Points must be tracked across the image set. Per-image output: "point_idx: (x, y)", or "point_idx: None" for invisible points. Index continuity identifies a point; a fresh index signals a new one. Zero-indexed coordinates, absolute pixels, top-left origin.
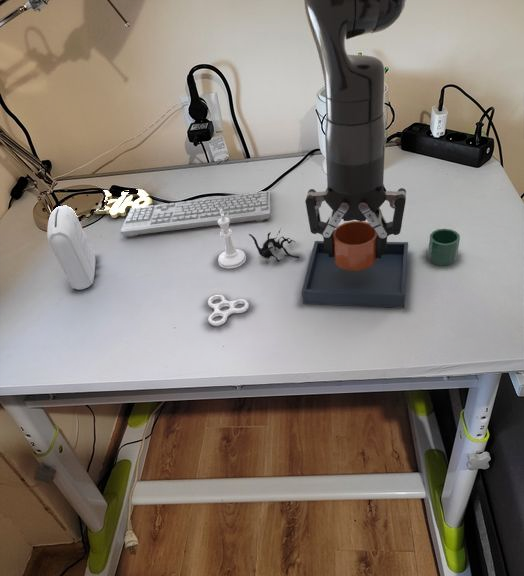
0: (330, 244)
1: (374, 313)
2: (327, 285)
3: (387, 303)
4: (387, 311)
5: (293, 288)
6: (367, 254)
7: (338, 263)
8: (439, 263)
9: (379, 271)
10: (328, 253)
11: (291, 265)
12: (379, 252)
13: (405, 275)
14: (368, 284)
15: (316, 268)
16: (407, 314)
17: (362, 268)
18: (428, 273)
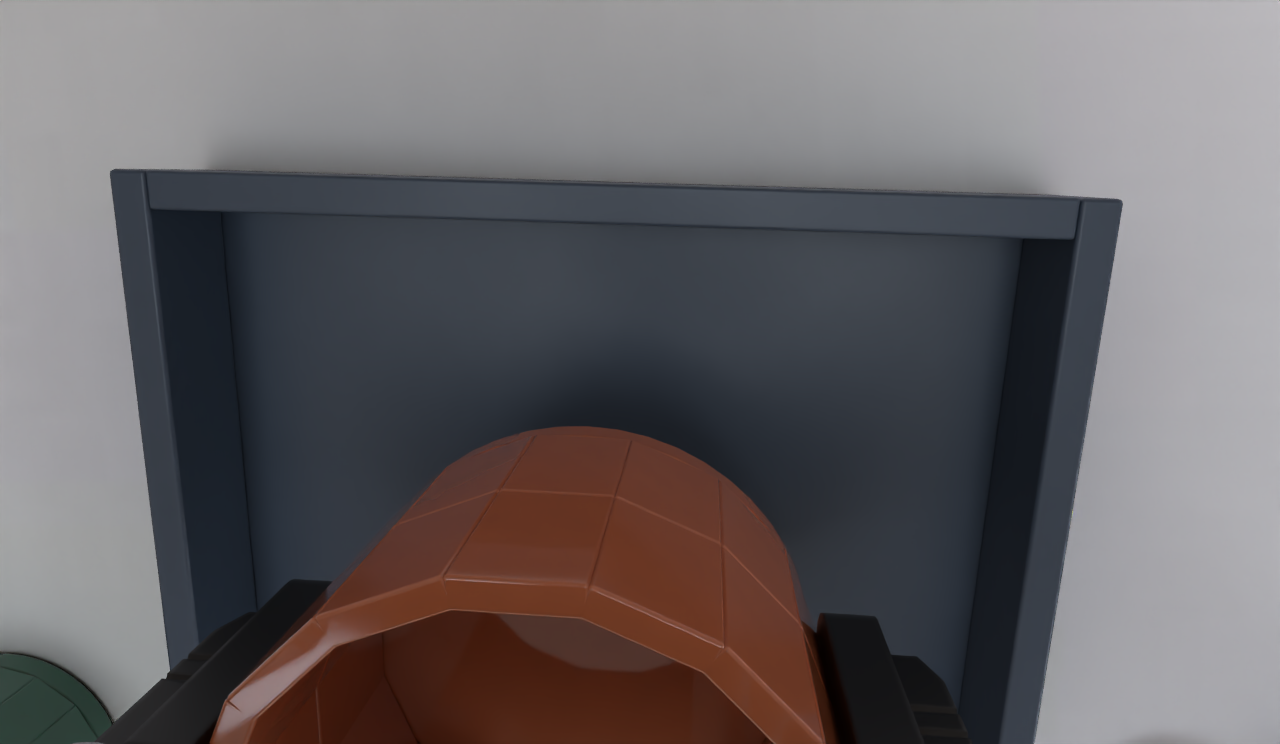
0: (882, 724)
1: (424, 95)
2: (842, 417)
3: (311, 173)
4: (325, 126)
5: (1145, 402)
6: (376, 541)
7: (752, 516)
8: (13, 667)
9: None
10: (884, 640)
11: (1168, 698)
12: (274, 617)
13: (149, 449)
14: (497, 431)
15: (950, 637)
16: (170, 96)
17: (488, 448)
18: (90, 576)
